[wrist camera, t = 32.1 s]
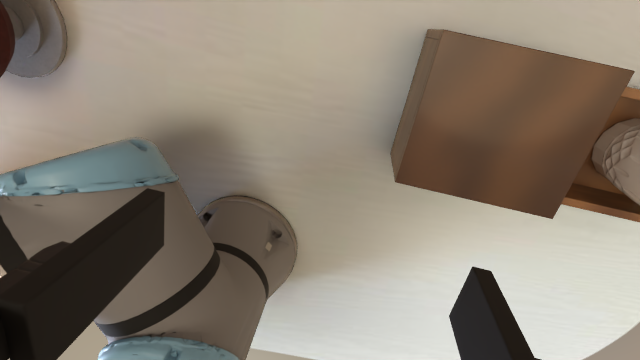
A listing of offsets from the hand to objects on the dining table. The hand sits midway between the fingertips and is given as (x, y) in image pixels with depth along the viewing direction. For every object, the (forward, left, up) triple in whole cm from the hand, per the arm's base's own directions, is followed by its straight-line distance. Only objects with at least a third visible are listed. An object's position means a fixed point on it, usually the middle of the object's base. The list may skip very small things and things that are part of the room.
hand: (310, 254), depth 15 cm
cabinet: (+3, -14, -29) cm, 32 cm away
